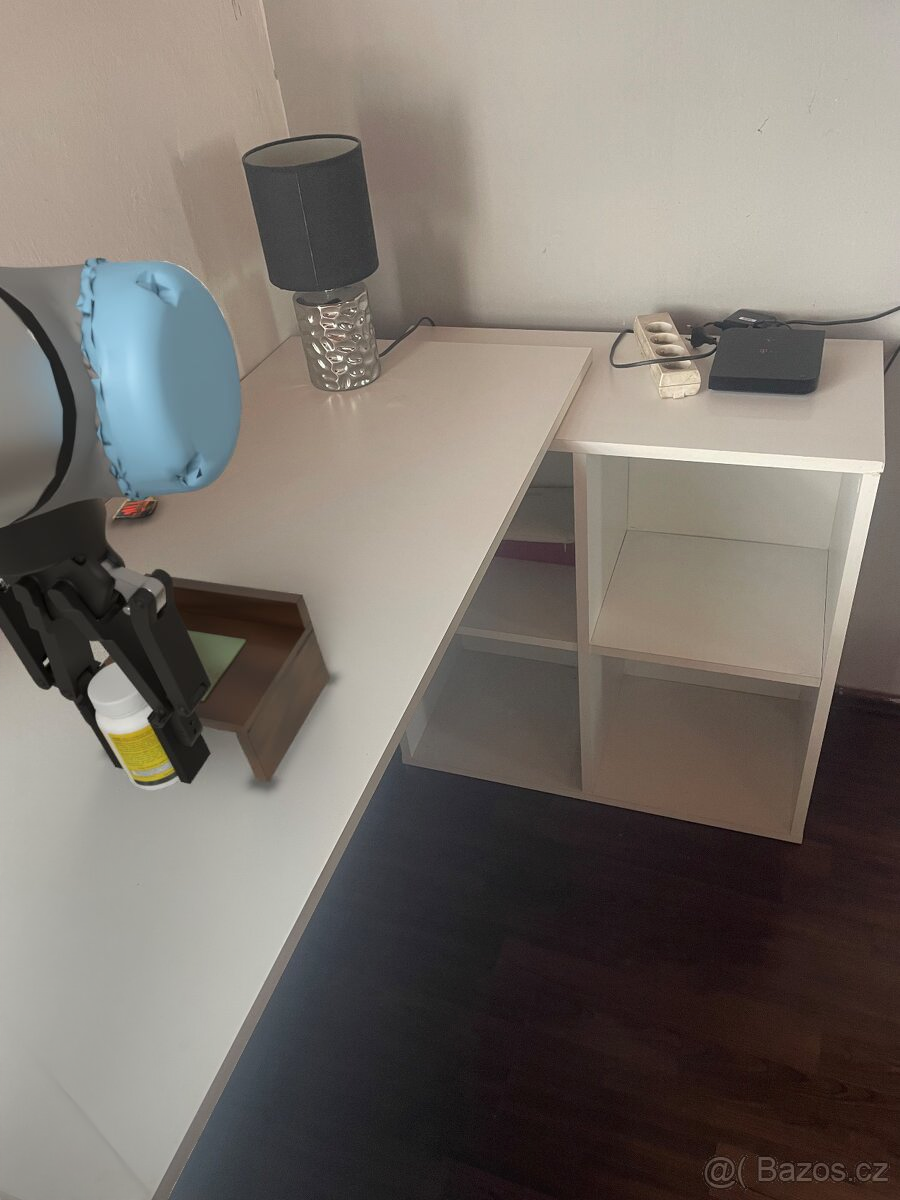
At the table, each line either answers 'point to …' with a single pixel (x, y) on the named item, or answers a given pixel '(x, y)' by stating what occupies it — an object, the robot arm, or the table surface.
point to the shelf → (253, 664)
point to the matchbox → (135, 508)
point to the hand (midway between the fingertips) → (162, 760)
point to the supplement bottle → (129, 729)
